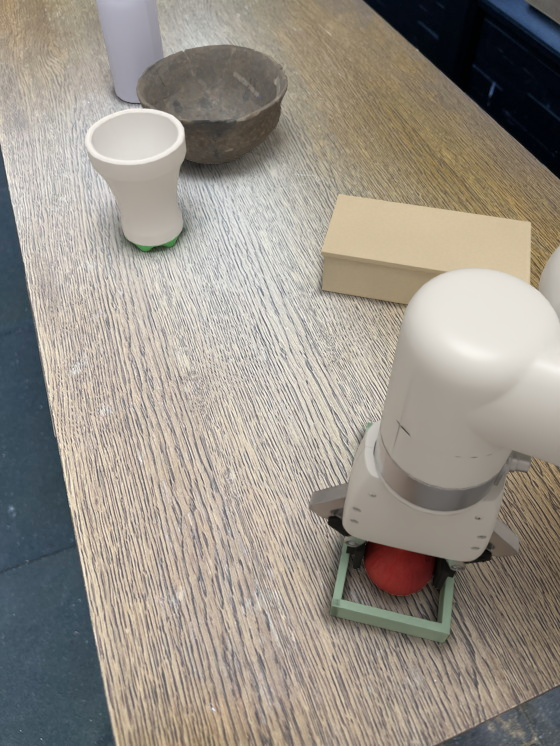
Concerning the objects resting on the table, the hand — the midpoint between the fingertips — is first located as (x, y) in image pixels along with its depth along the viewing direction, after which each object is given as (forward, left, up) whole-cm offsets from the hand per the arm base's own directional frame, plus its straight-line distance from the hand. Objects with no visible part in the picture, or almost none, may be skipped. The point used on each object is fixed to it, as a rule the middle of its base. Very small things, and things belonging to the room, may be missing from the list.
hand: (398, 561), depth 54 cm
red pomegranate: (0, 0, -3) cm, 3 cm away
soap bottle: (+51, -70, -3) cm, 87 cm away
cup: (+36, -37, -3) cm, 52 cm away
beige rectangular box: (+2, -37, -3) cm, 38 cm away
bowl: (+34, -58, -3) cm, 68 cm away
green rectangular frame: (0, -4, -3) cm, 5 cm away
